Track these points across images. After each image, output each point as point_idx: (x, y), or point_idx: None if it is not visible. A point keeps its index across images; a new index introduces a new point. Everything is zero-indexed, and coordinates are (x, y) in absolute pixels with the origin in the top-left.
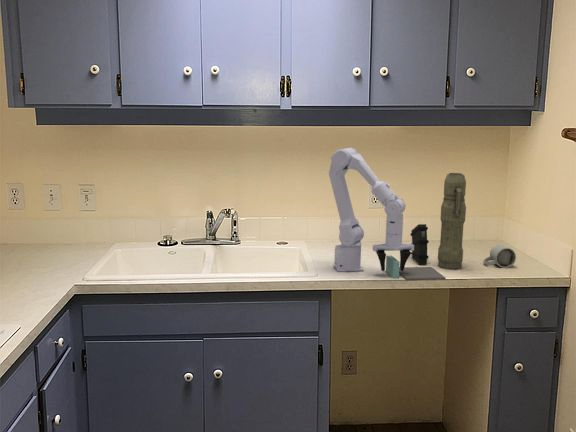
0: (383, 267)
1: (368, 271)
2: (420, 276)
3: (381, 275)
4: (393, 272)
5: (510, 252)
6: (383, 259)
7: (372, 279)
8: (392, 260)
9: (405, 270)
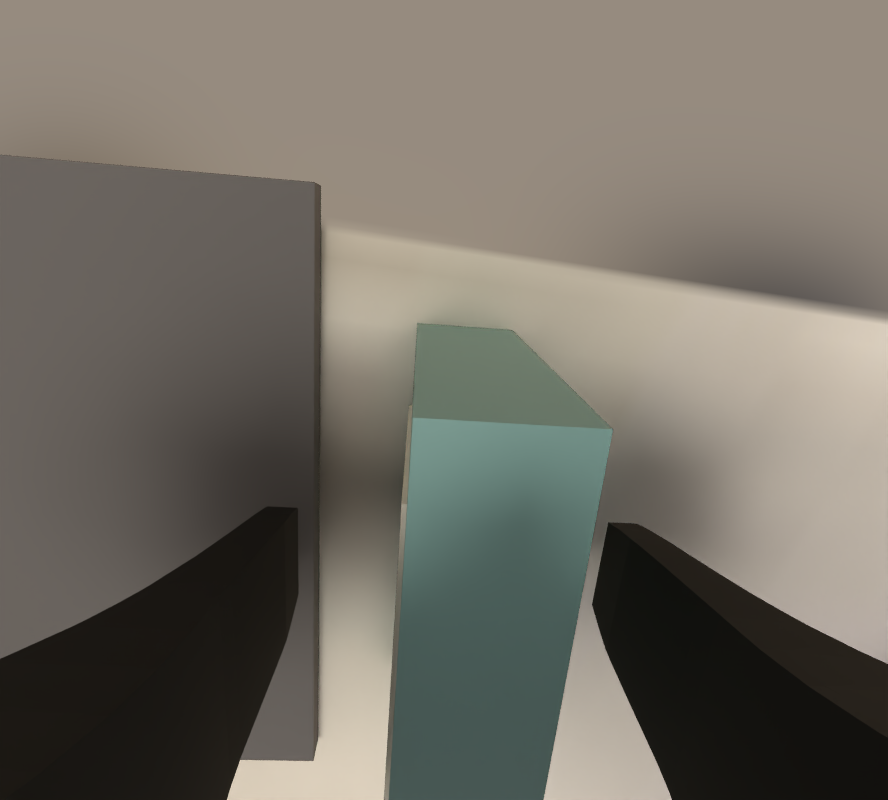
0: (675, 549)
1: None
2: (2, 279)
3: (616, 506)
4: (532, 352)
5: None
6: (838, 667)
7: (852, 334)
8: (566, 606)
9: None
